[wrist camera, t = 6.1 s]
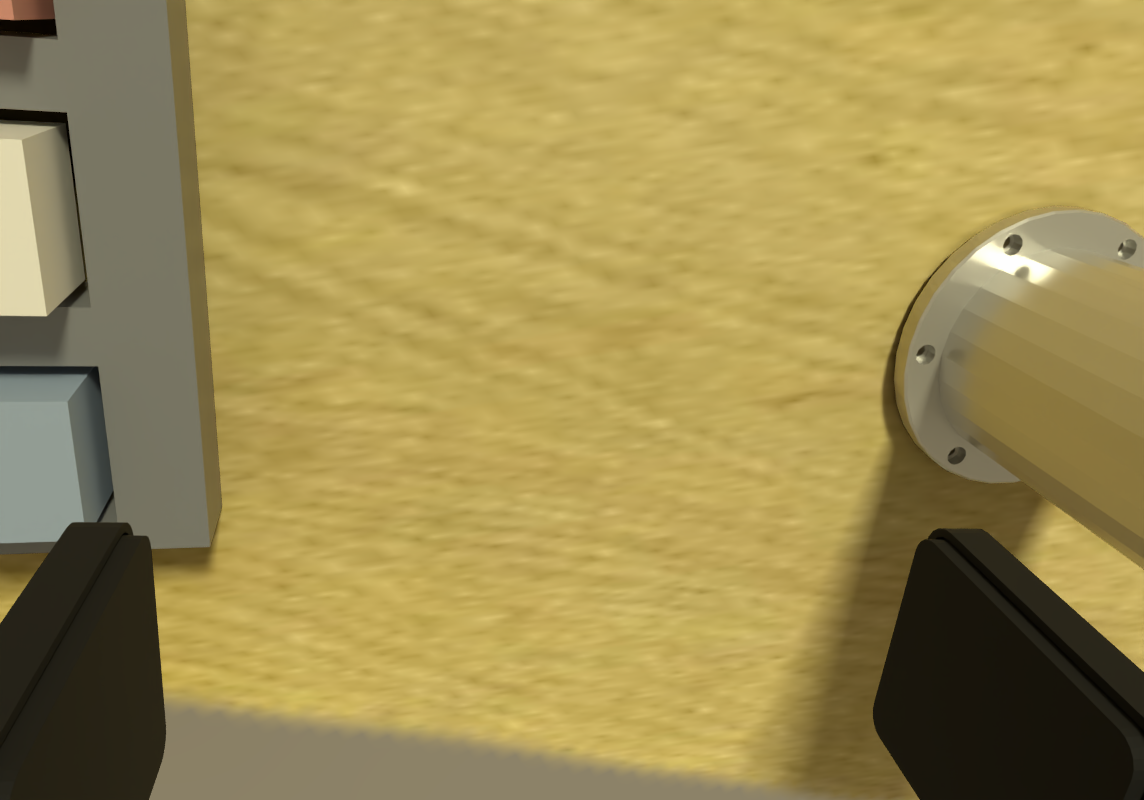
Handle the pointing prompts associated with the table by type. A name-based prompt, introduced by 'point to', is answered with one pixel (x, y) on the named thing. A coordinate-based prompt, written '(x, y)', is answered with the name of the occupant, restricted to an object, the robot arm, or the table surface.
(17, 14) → the brick-red key
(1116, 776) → the robot arm
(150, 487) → the keypad base
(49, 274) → the off-white key
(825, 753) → the table surface
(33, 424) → the slate-blue key
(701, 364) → the table surface
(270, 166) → the table surface
